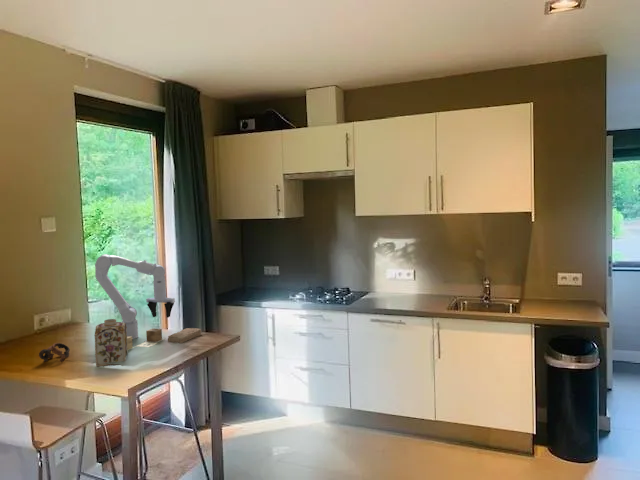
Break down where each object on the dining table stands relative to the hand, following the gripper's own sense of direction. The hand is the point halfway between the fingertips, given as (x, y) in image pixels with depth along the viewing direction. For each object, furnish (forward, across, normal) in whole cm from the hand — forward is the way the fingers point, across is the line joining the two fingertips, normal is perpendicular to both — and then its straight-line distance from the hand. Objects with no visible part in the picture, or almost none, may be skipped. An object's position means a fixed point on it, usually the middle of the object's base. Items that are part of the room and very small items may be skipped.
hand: (161, 316), depth 255 cm
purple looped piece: (+10, -26, -43) cm, 51 cm away
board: (+10, 0, -18) cm, 21 cm away
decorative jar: (+10, 0, -39) cm, 41 cm away
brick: (+11, +14, -3) cm, 18 cm away
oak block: (+9, -4, -25) cm, 27 cm away
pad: (+9, +2, -10) cm, 14 cm away
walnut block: (+9, +2, -10) cm, 14 cm away
